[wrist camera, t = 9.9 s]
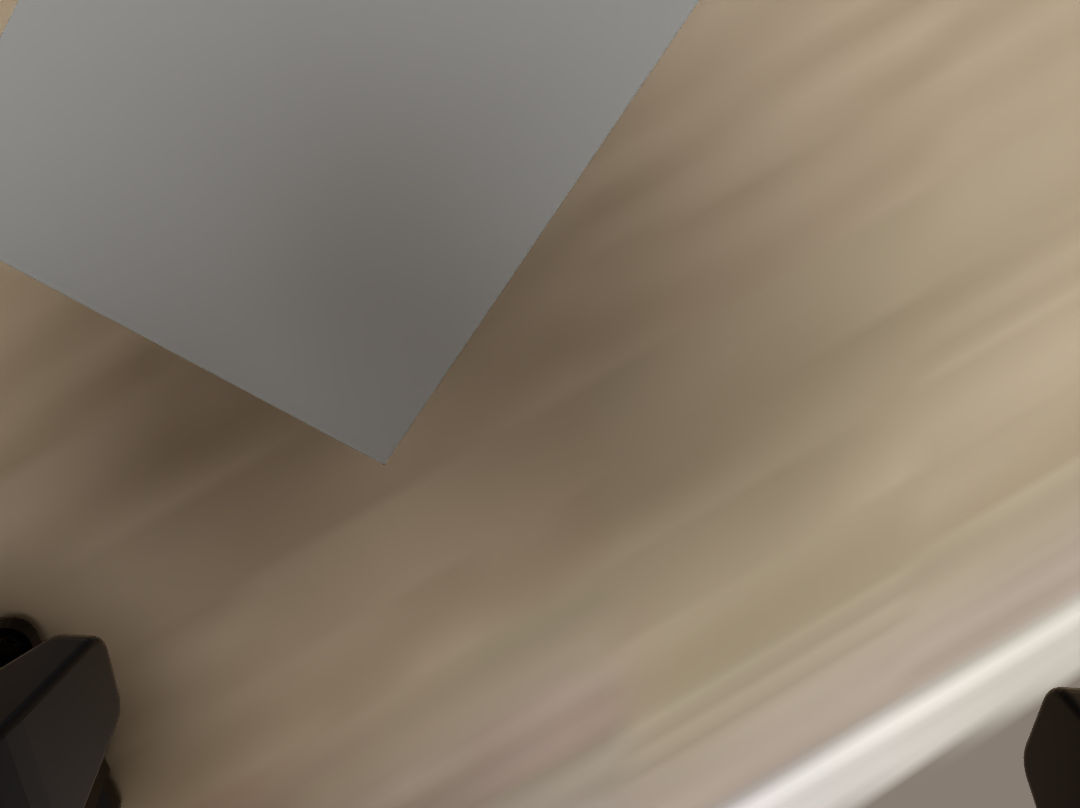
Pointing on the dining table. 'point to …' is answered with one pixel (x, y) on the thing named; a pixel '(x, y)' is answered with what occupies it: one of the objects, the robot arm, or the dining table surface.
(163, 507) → the dining table surface
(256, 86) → the grey stand
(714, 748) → the dining table surface
